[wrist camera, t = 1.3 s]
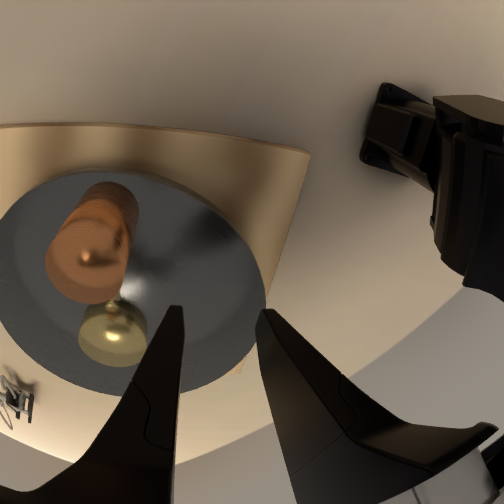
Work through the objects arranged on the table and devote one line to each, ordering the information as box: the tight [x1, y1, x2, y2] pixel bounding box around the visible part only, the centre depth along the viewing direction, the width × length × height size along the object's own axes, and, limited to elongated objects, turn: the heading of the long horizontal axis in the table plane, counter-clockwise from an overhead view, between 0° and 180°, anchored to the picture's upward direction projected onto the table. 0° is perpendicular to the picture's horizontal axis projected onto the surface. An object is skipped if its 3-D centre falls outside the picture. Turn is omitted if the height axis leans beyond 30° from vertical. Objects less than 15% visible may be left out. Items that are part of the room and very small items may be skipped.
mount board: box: [0, 123, 311, 374], centre depth 20 cm, size 23×23×4 cm
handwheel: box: [0, 166, 266, 396], centre depth 16 cm, size 20×20×6 cm
